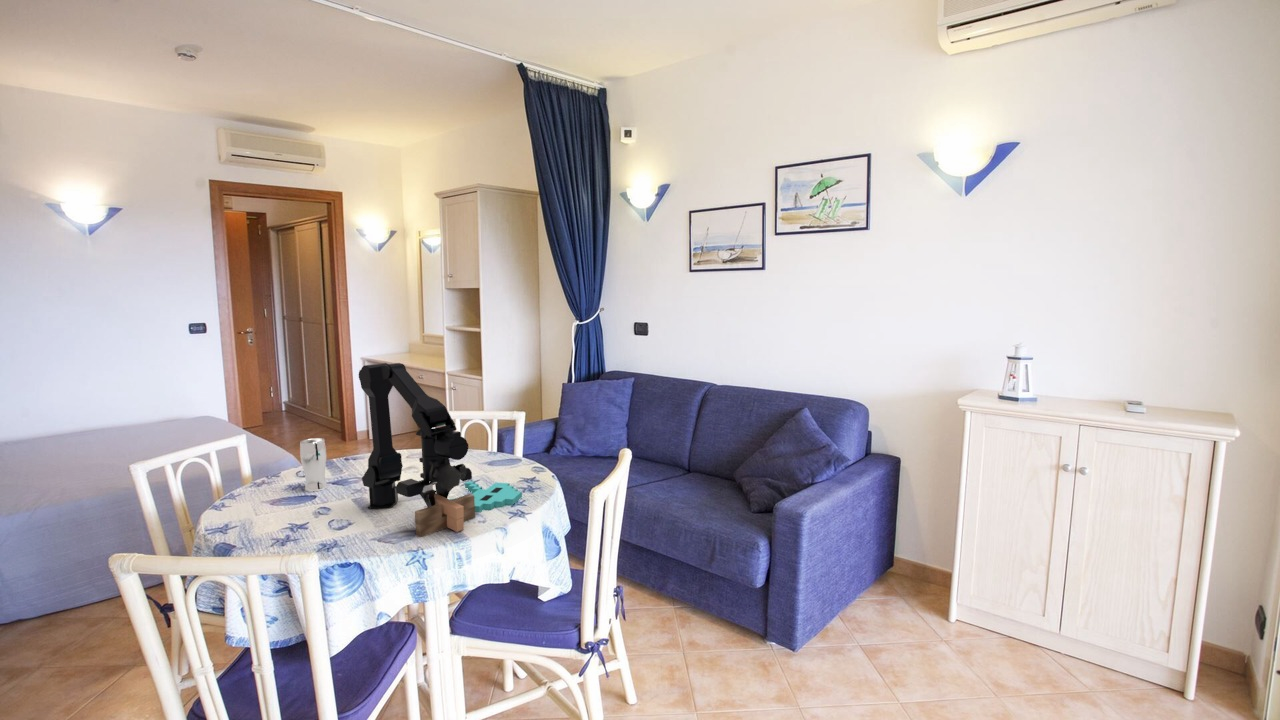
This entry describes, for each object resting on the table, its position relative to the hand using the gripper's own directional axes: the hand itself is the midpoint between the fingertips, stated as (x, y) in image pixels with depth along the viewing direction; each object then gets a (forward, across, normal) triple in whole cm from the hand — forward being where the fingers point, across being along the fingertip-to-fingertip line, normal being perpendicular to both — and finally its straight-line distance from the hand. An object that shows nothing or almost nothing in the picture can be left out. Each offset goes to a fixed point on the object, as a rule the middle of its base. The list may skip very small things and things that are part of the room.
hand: (437, 512), depth 161 cm
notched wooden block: (+3, 0, -4) cm, 5 cm away
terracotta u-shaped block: (+2, 0, -4) cm, 4 cm away
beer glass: (+3, -6, +55) cm, 55 cm away
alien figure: (+3, +18, +5) cm, 19 cm away
